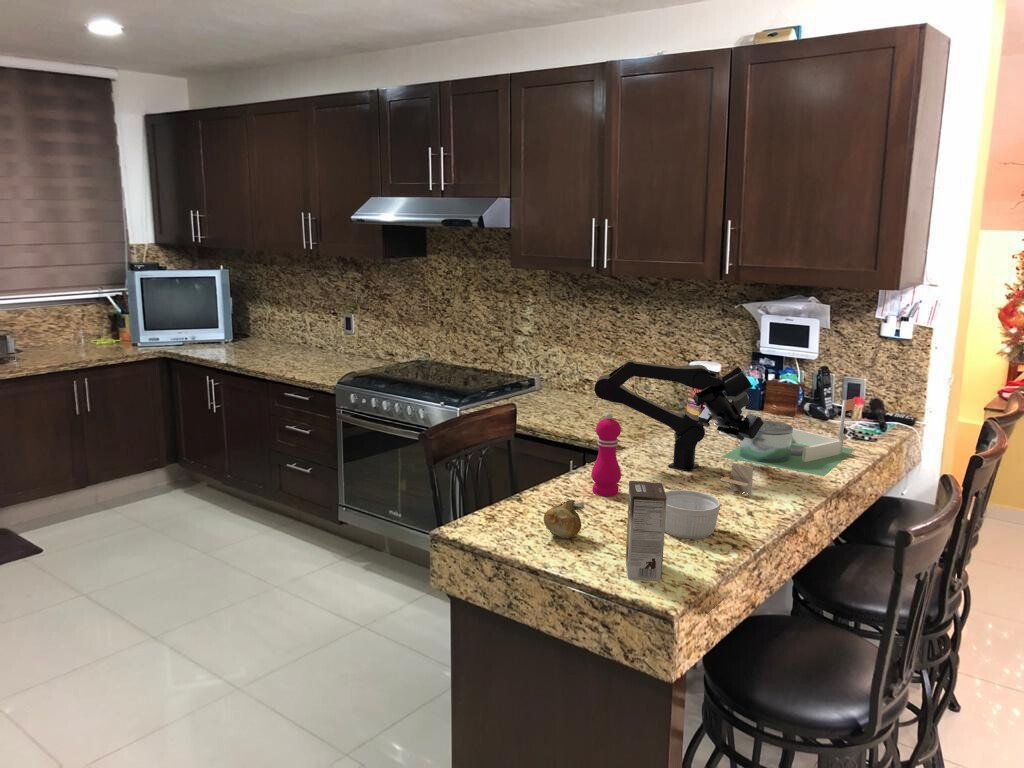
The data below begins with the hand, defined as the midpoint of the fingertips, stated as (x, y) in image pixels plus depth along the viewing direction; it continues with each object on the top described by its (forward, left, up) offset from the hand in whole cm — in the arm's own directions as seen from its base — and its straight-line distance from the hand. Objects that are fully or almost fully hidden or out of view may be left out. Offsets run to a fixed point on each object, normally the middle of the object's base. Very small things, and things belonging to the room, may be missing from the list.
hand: (742, 439), depth 222 cm
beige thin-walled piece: (+25, -9, -6) cm, 27 cm away
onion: (-79, +10, -7) cm, 80 cm away
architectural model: (-27, -9, -7) cm, 30 cm away
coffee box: (-84, -11, -7) cm, 85 cm away
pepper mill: (-48, +16, -7) cm, 51 cm away
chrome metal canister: (+10, -4, -6) cm, 12 cm away
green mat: (+18, -8, -7) cm, 21 cm away
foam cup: (+30, +14, -7) cm, 34 cm away
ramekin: (-59, -10, -7) cm, 60 cm away
